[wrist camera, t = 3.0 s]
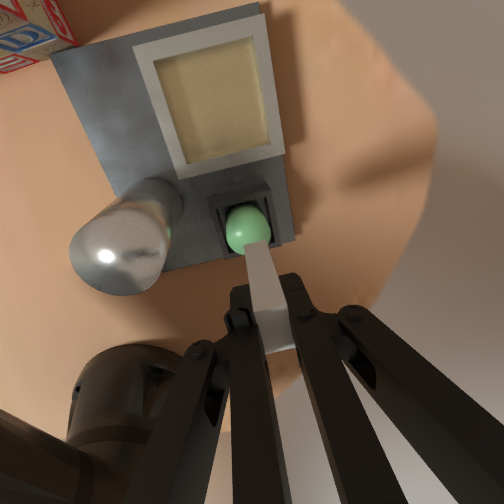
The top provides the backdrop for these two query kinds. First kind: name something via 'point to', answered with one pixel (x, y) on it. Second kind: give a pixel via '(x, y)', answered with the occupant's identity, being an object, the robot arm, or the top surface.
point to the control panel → (188, 122)
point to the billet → (128, 239)
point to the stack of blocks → (31, 33)
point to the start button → (246, 226)
